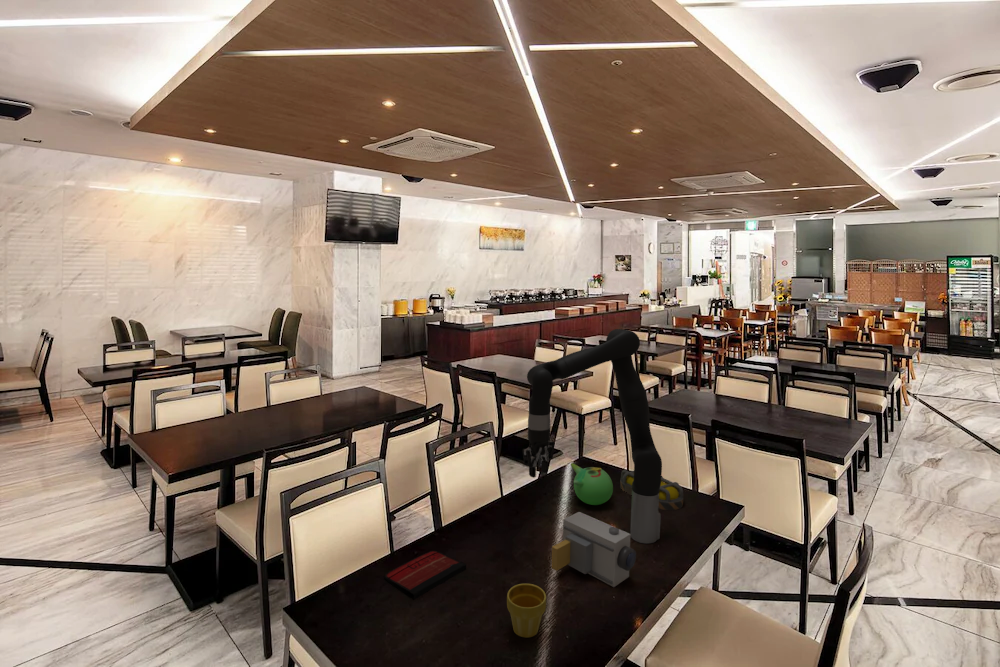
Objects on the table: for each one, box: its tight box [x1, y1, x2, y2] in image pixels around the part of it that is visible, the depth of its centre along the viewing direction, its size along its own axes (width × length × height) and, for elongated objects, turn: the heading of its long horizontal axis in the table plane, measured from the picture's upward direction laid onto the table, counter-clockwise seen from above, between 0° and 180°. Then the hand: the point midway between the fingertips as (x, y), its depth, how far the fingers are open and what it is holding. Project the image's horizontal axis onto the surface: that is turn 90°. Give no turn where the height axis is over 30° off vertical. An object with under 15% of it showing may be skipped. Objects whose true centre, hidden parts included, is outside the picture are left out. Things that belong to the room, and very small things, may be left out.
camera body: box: [562, 511, 637, 588], centre depth 163 cm, size 9×23×15 cm, turn 43°
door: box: [551, 533, 592, 575], centre depth 159 cm, size 10×8×9 cm
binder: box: [384, 550, 467, 600], centre depth 162 cm, size 16×2×21 cm
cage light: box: [619, 469, 684, 511], centre depth 218 cm, size 15×8×30 cm
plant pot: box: [506, 583, 547, 638], centre depth 136 cm, size 10×10×10 cm
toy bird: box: [570, 462, 614, 506], centre depth 211 cm, size 18×17×15 cm
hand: (538, 474), depth 176 cm, fingers open, 5 cm apart
